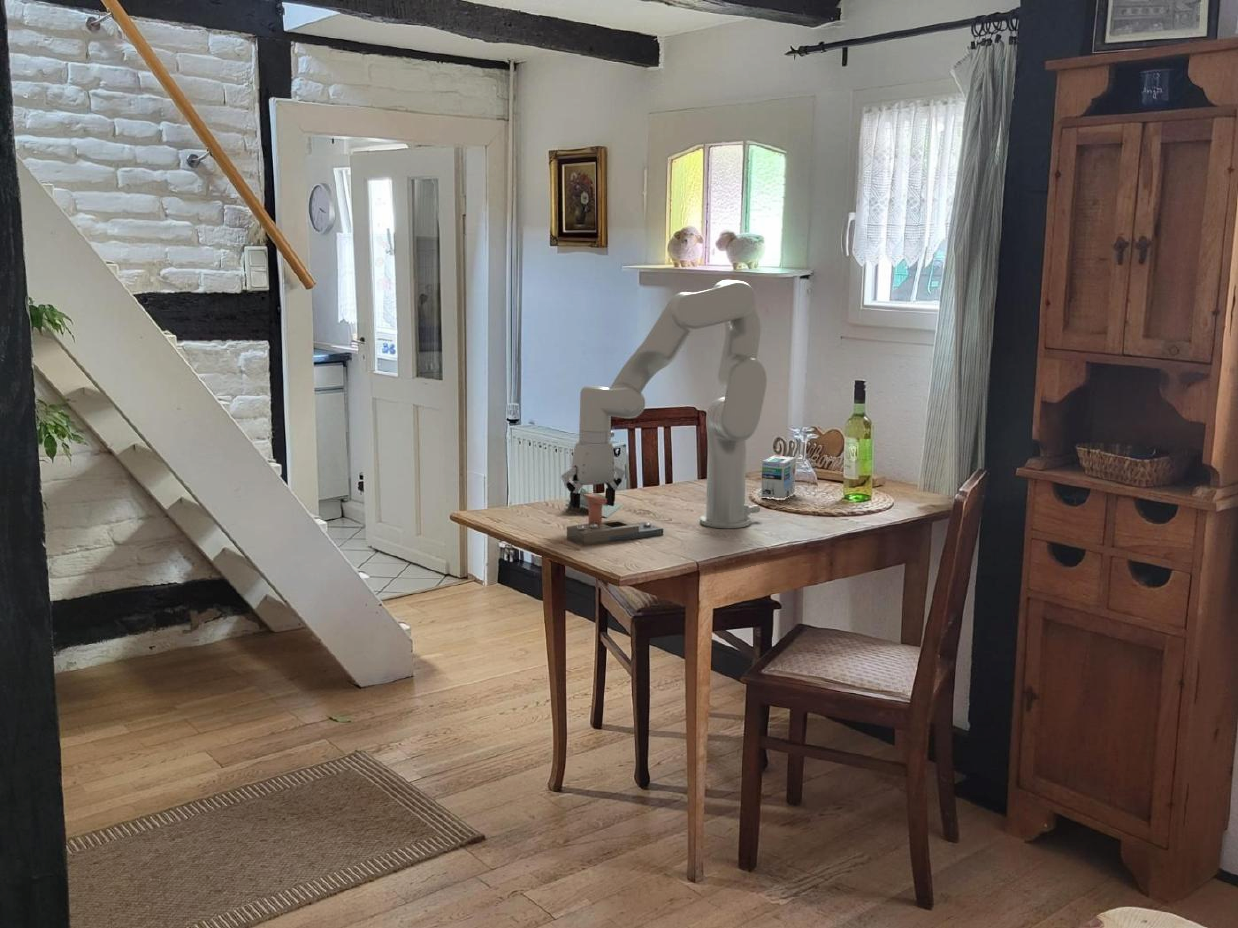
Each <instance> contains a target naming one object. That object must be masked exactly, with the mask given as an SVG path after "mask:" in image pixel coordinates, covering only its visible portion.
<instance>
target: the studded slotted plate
mask: <svg viewBox="0 0 1238 928" xmlns="http://www.w3.org/2000/svg"><path fill="white" fill-rule="evenodd" d="M656 536H664V528H662V527H660V526H658V525H654V524H652V523H650V522H647V521H641V522H636V523H635V522H633V523H632V522H630V521H627V520H624V519H621V518H620V519H619V518H618V519H613V520H607V521H606V520H604V521H602V522H596V523H589V522H588V523H584V524H582V523H581V524H576V525H568V526H566V540H568V541H571V542H573V543H576V544H577V545H580V546H582V547H588V546H595V545H603V544H607V543H608V544H609V543H616V542H623V541H629V540H634V539H644V538H649V537H650V538H651V537H656Z"/></svg>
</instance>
